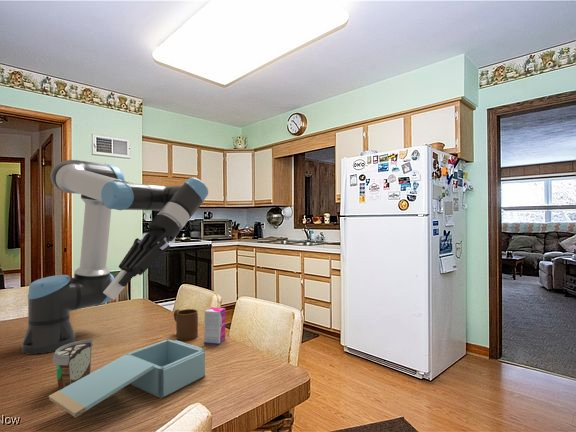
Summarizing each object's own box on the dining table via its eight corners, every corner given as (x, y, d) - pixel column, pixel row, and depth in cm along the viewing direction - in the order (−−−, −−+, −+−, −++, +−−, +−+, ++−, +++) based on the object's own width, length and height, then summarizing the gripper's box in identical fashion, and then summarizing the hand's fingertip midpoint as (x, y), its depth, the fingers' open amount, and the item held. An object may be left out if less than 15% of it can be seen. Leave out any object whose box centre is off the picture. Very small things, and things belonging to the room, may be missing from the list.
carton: (170, 360, 102) (170, 337, 102) (209, 374, 93) (209, 349, 93) (122, 380, 90) (122, 354, 90) (162, 399, 80) (162, 370, 80)
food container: (69, 375, 93) (69, 339, 93) (92, 374, 93) (92, 338, 93) (40, 399, 81) (40, 357, 81) (67, 398, 81) (67, 356, 81)
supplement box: (219, 345, 115) (219, 311, 115) (203, 344, 116) (203, 311, 116) (226, 339, 120) (225, 307, 121) (210, 338, 122) (210, 306, 122)
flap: (125, 354, 88) (48, 395, 73) (153, 365, 81) (74, 413, 66) (126, 357, 88) (49, 399, 73) (154, 368, 81) (75, 417, 67)
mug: (165, 335, 125) (165, 310, 125) (183, 329, 131) (183, 305, 131) (184, 342, 117) (184, 315, 117) (202, 336, 123) (202, 311, 123)
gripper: (192, 232, 90) (135, 309, 76) (163, 231, 97) (105, 301, 84) (175, 212, 85) (111, 290, 72) (146, 213, 93) (82, 283, 79)
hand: (108, 296), depth 78 cm, fingers closed
